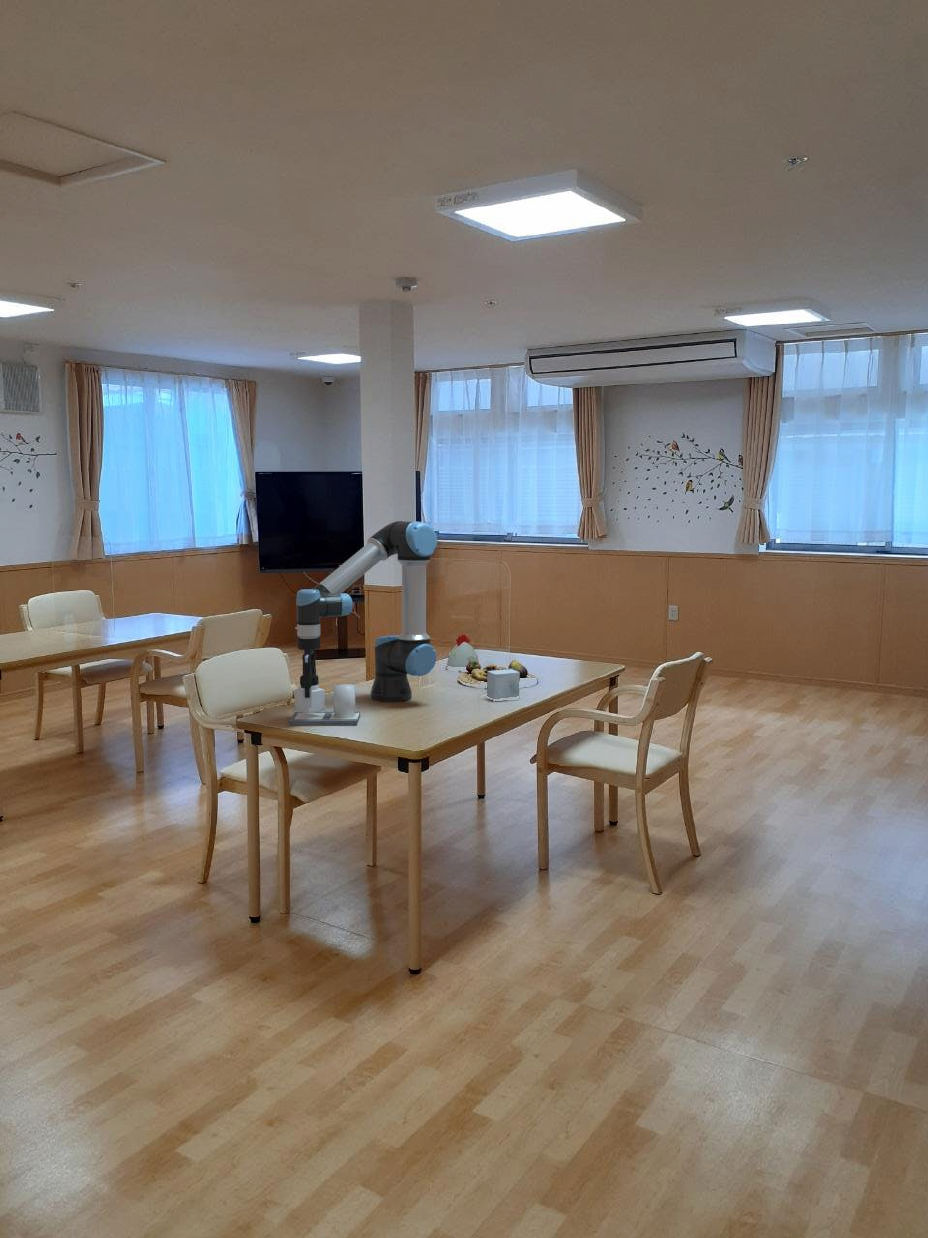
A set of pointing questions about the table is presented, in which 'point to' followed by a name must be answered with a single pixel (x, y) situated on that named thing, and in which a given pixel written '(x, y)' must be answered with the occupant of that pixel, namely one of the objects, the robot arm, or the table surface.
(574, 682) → the table surface
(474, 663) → the wooden plate with food
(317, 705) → the medicine bottle
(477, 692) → the table surface
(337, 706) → the plastic jar
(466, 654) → the white dome figure
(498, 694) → the skincare box
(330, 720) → the dock board
